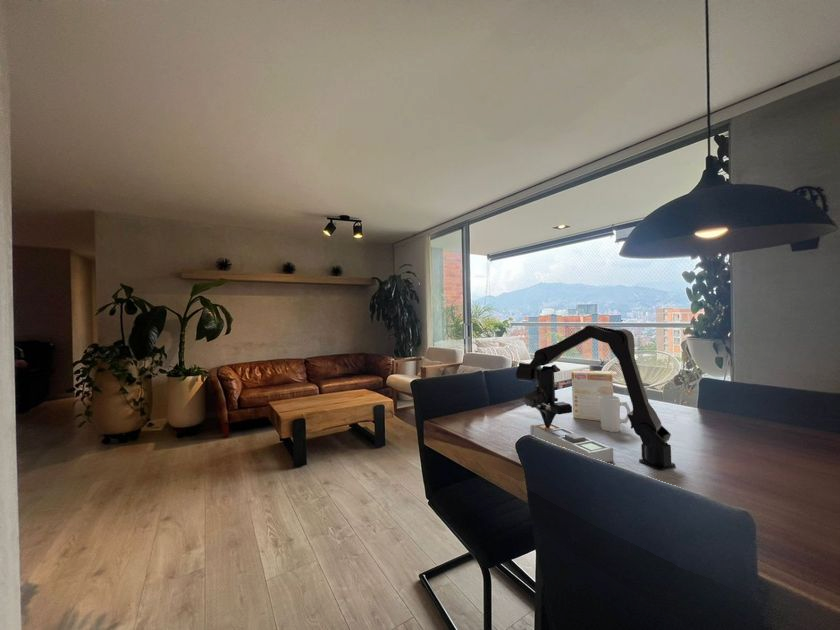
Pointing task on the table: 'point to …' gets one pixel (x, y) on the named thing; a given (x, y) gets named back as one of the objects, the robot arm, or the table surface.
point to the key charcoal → (574, 438)
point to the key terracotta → (546, 427)
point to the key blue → (559, 433)
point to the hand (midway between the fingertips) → (547, 427)
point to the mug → (611, 413)
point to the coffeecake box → (590, 392)
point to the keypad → (600, 454)
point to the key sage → (590, 447)
